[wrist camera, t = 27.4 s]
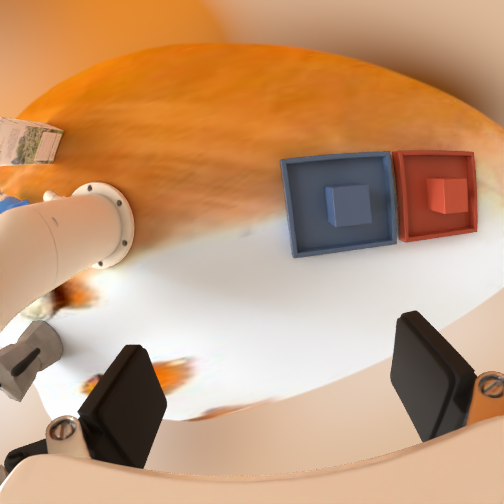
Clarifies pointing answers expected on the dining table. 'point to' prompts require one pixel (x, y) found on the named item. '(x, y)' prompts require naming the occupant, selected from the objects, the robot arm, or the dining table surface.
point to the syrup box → (27, 142)
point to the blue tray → (314, 207)
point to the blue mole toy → (10, 202)
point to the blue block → (348, 204)
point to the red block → (447, 194)
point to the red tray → (415, 193)
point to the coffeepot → (28, 358)
